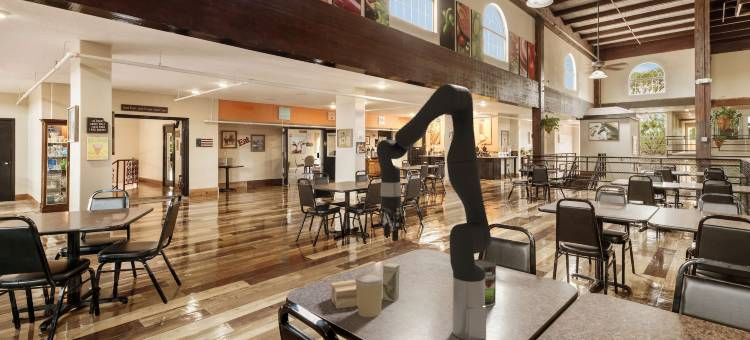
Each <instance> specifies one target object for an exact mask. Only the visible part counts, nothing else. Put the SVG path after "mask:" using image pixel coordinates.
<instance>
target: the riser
mask: <svg viewBox="0 0 750 340" xmlns="http://www.w3.org/2000/svg"><path fill="white" fill-rule="evenodd" d="M355 280H356V279H349V280H348V279H347V280H340V281H332V282H330V299H331V301H332V303H333V305H334V306H335V308H336V310H337V309H344V308H352V307H358V305H357V291H356V281H355Z"/></svg>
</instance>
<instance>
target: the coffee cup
mask: <svg viewBox="0 0 750 340" xmlns="http://www.w3.org/2000/svg"><path fill="white" fill-rule="evenodd" d="M354 280H355V281H356V291H357V305H358V306H357V313H358V315H359V316H361V317H363V318H374V317H378V316H380V315H381V312H382V301H383V299H382V298H383V275H382V276H381V275H380V274H377V273H362V274H360V275H357V276H356V278H355V279H354Z"/></svg>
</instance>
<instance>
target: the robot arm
mask: <svg viewBox="0 0 750 340" xmlns="http://www.w3.org/2000/svg"><path fill="white" fill-rule="evenodd" d="M443 115H446V116H451V117H450V118H451V121H452V130H453V133H452V139H451V141H450V145H449V148H448V151H447V154H446V167H447V176H448V180H449V183H450V185H451V188H452V189H453V191H454V192H455V194H456V195H457V196H458V198H459V200H460V201H461V203H462V205H463V208H464V213H465V221H466V222H465V223H458V224H455V225H454V226H453V227H452V228H451V230H450V233H449V239H448V240H449V257H450V259H449V262H450V266H451V270H452V333H453V335H454V336H455V337H456V338H458V339H461V340H486V339H487V307H486V306H485V270H484V268H483V267H482V266H480V265H477V264H475V260H476V259H475V255H476V254H479V253H483V252H487V251H488V249H490V247H491V243H492V241H491V240H492V236H491V230H490V224H489V220H488V217H487V212H486V208H485V203H484V198H483V197H484V196H483V190H482V183H481V176H480V168H479V167H480V166H479V160H478V159H479V158H478V153H477V146H476V145H477V144H476V136H475V126H474V99H473V95H472V93H471V91H470V90H469V88H467V87H465V86H463V85H462V86H461V85H458V84H457V85H456V84H453V83H446V84H442V85H440V86H439V87H438V88H437V89H436V90H434V92H433V93H432V94H431V96H430V97H429V98H428V99H427V101H426V102H424V104H423V106H422V107H421V108H420V109H419V111H417V113H416V114H415V115H414V116H413V117H412V118H411V119H410V120H409V121H408V122H406V123H405V124H404V125H403V126H402V127H401V128H400V129H398V130H397V131H396V133H395V135H394V139H383V140H380V141H379V142H378V144H377V147H376V156H377V161H378V164H379V167H380V170H381V171H380V172H381V173H380V174H381V176H380V177H381V180H380V181H381V182H380V183H381V184H380V207H381V214H380V215H381V217H380V218H381V219H380V220H381V221H380V222H381V224H382V226H383V236H384V237H391V240H392V242H398V241H399V231H400V230H402V213H401V212H398V209H400V208H401V207H402V186H401V185H402V183H401V168H400V167H399V166H397V165H394V164H393V160H399V159H401V158H403V157H404V156H406V154H407V153H408V151H409V150H410V148H411V147H412V146H414V145H415V144H416V143H417V142H419V140H421V139H422V138H423V137H424V136H425V135H426V133H427V131H428V128H429V126H430V124H431V123H432V122H434V121H435V120H436V119H438V118H440V117H441V116H443ZM390 235H391V236H390Z"/></svg>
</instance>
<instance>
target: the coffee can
mask: <svg viewBox="0 0 750 340" xmlns="http://www.w3.org/2000/svg"><path fill="white" fill-rule="evenodd" d="M474 260H475V264H477V265H480V266H482V267H483V268H484V270H485V306H486V308H488V307H492V306H495V305H496V288H497V287H496V286H497V285H496V284H497V283H496V279H497V277H496V276H497V273H496V272H497V263H496V262H494V261H491V260H487V259H474Z"/></svg>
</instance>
